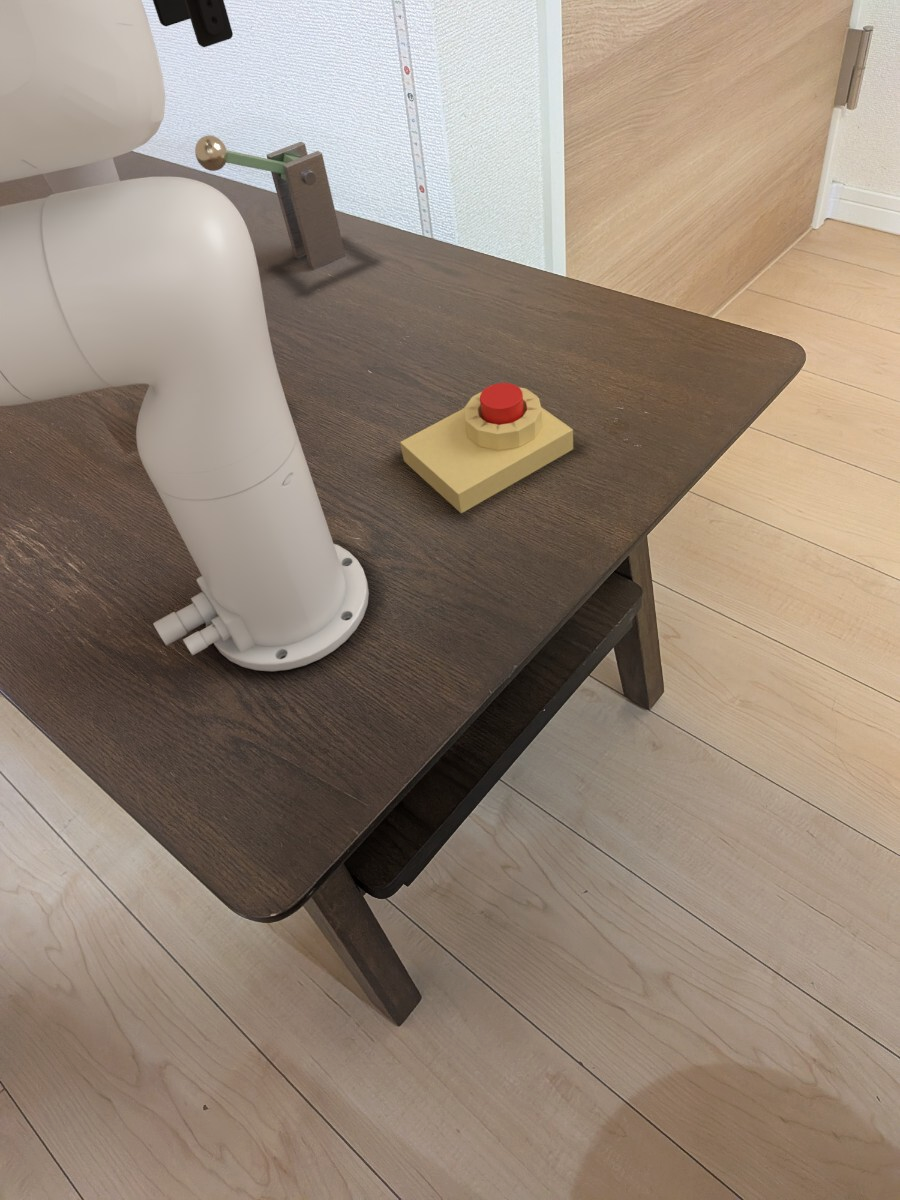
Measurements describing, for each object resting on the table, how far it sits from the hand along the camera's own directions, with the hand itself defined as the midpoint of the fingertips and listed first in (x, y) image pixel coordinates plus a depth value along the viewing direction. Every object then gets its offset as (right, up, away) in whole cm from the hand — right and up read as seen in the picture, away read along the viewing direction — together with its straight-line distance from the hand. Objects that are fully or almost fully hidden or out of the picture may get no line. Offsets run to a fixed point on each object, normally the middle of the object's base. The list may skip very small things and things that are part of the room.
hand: (196, 31), depth 76 cm
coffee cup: (-20, -7, +32) cm, 38 cm away
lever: (+2, -7, +12) cm, 14 cm away
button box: (+27, -40, -4) cm, 48 cm away
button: (+28, -37, -6) cm, 46 cm away
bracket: (+8, -12, +23) cm, 27 cm away
